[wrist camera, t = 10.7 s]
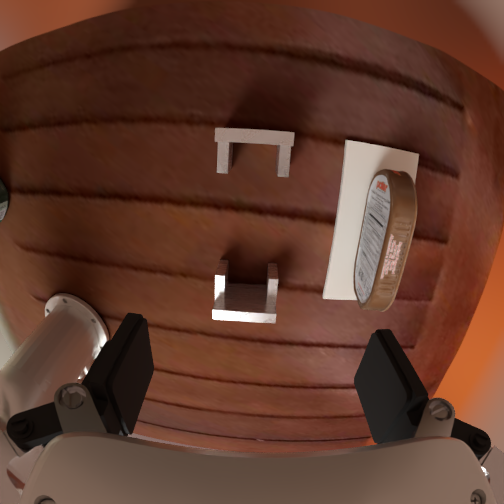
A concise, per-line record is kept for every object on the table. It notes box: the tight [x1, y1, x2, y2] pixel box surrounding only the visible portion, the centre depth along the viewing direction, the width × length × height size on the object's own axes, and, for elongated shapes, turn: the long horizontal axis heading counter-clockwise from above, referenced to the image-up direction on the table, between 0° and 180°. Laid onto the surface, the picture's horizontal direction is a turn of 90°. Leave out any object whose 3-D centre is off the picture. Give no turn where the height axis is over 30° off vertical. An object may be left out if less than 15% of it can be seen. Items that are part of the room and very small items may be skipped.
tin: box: [353, 169, 417, 312], centre depth 27 cm, size 15×3×8 cm, turn 176°
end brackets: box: [213, 128, 294, 323], centre depth 29 cm, size 7×19×6 cm, turn 177°
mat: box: [323, 140, 419, 300], centre depth 32 cm, size 19×9×1 cm, turn 176°
